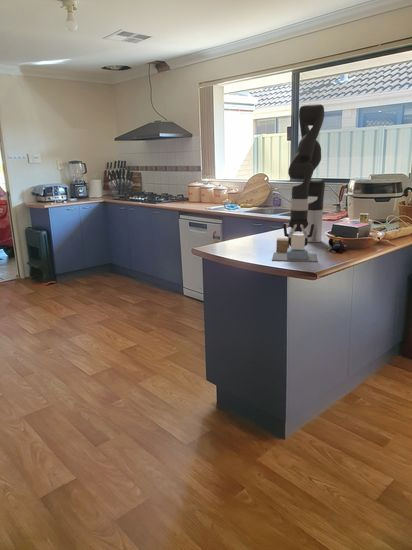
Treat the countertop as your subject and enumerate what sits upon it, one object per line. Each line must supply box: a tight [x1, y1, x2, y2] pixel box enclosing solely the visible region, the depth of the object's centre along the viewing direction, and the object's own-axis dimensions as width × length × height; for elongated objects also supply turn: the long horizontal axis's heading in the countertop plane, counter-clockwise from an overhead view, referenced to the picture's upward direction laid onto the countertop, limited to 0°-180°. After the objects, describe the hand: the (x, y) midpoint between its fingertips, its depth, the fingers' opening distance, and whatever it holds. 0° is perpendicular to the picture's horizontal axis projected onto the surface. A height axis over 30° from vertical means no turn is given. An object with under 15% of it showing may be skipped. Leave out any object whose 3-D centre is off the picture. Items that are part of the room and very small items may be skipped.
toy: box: [327, 235, 347, 253], centre depth 213 cm, size 9×6×15 cm
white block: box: [290, 233, 306, 250], centre depth 196 cm, size 6×6×6 cm
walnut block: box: [275, 237, 290, 253], centre depth 212 cm, size 6×6×6 cm
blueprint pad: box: [271, 247, 319, 263], centre depth 197 cm, size 16×20×4 cm
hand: (297, 245), depth 196 cm, fingers closed on white block, 6 cm apart
